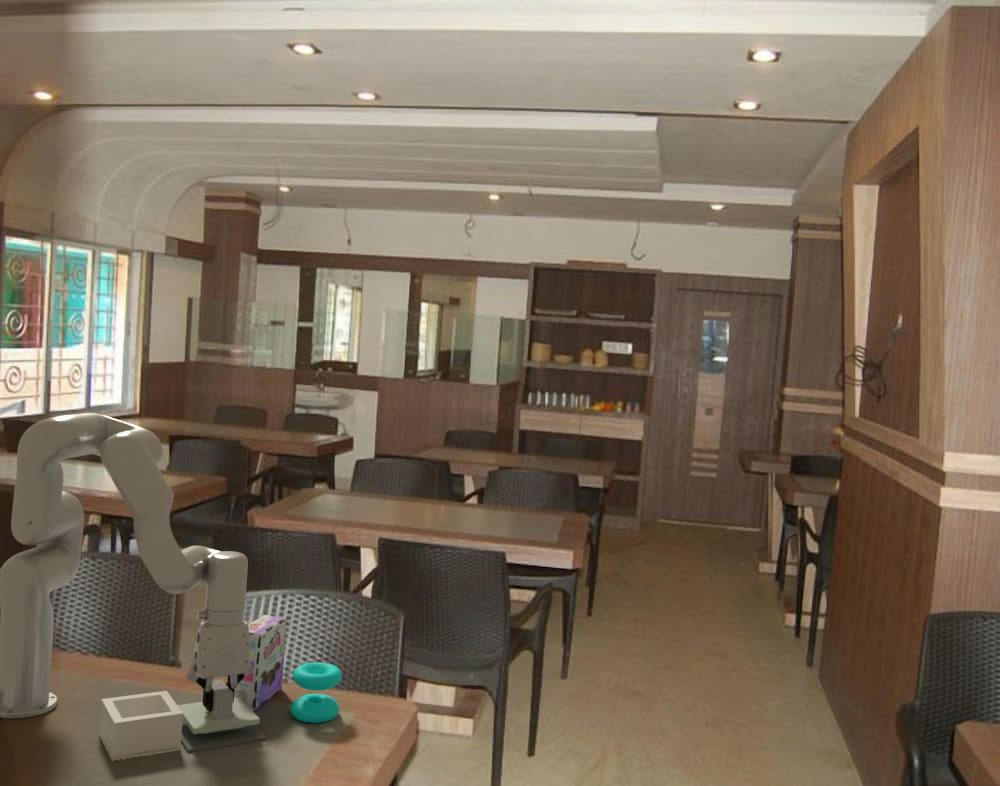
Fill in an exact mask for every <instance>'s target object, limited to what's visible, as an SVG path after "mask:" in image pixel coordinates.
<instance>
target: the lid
mask: <svg viewBox="0 0 1000 786" xmlns="http://www.w3.org/2000/svg"><path fill="white" fill-rule="evenodd" d="M212 691H213V692H214V696H213V710H212V712H208V710H207V709H206V708H205V707H204V706H203V701H200V702H198V701H197V702H192V703H191V702H190V703H183V704H177V706H178V707H179V709H180V710H181V711H182V713H183V720H184V722H185V723H186V724H187V726H188V727H189V728H190V730H191V731H192V732H193V734H198V733H201V734H206V733H213V732H219V731H226V730H232V729H238V728H244V726H250V725H260V722H261V721H260V720H261V719H260V717H259V716H258V715H257V714H256V713H255V711H252V710H251V709H250V708H249V707H248V706H247V705H246V703H245V702H244V701H243V700H242V699H241V698H240V697H234V702H233V692H232V691H231V690H230V689H229V688H228V686H227V685H226V683H225V682H224V681H223V680H222V679H213V683H212Z"/></svg>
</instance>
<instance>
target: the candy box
mask: <svg viewBox="0 0 1000 786" xmlns="http://www.w3.org/2000/svg"><path fill="white" fill-rule="evenodd" d="M287 620H288V618H287V617H283V616H275V615H268V614H263V615H262V616H260V617H259V618H256V619H255V620H253V621H251V622H250V623H248V626H249V636H250V662H251V664H252V666H253V668H254V671H253V672H252V673H250V674H249V675H247V676H245V677H244V678H243V679H242V680H241V681H240V682H239V683H238V684H237V687H236V688H235V692H234V697H240V698H241V699H242V700H243V701H244V702H245V703H246V705H247V706H248V707H249V708H250V709H251V710H252V711H253V712H255V711H256V710H258V709H259V708H260V707H261V706H263V705H264V704H265V703H267V702H268V701H269V700H270V699H271V698H273V697H274V696H275V695H277V693H279V692H280V691H281V690H282V689H283V675H284V662H285V650H286V649H285V647H286V635H287V622H288V621H287Z"/></svg>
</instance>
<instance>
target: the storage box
mask: <svg viewBox="0 0 1000 786" xmlns="http://www.w3.org/2000/svg"><path fill="white" fill-rule="evenodd" d="M100 702H101V703H100V714H99V715H100V716H99V718H100V719H99V731H98V733H99V734H98V736H99V738H100V740H101V742H102V743H103V746H104V748H105V750H106V752H107V754H108V757H109V758H110V760H111V762H115V761H114V760H117V761H120V760H119V759H123V760H127V759H126V758H129V759H133V758H132V757H135V758H140V757H139V756H141V757H147V756H153V755H159V754H166V753H172V752H177V751H181V746H182V743H181V734H182V719H183V713H182V711H181V710H180V709H179V707H178V706H177V705H178V704H177V703H176V701H175V700H174V699H173V698H172V696H171V694H170V693H169V692H168V691H167V690H163V691H155V692H153V691H152V692H147V693H146V692H145V693H138V694H131V695H123V696H116V697H107V698H101V701H100ZM130 757H131V758H130Z"/></svg>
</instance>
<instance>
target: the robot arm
mask: <svg viewBox="0 0 1000 786" xmlns="http://www.w3.org/2000/svg"><path fill="white" fill-rule="evenodd" d="M163 451H164V449H163V444H162V442H161V440H160V439H159V437H158V435H156V434H155V433H154V432H153V431H151V430H149V429H147V428H144V427H142V426H139V425H135V424H132V423H129V422H126V421H123V420H120V419H117V418H113V417H111V416H108V415H105V414H100V413H95V412H83V413H75V414H63V415H56V416H51V417H48V418H45V419H42V420H40V421H38V422H35V423H34V424H32V425H30V426H29V427H28V428H27V429H26V430H25V431H24V433H23V434H22V435H21V438H20V439H19V442H18V447H17V453H16V475H15V483H14V492H13V501H12V513H11V519H10V520H11V521H10V522H11V523H10V526H11V527H10V529H11V533H12V535H13V537H14V539H15V540H16V541H17V542H18V543H20V544H22V545H25V546H35V545H36V546H35V547H32V548H30V549H29V548H28V549H26V550H23V551H21V552H18V553H16V554H14V555H12V556H11V557H9V558H8V559H7V560H6V561H5V562H4V563H3V564H2V566H1V567H0V718H1V719H25V718H26V719H27V718H32V717H36V716H41V715H44V714H46V713H49V712H51V711H52V710H54V708H56V707H57V704H58V697H57V695H56V694H54V693H53V692H50V690H51V689H50V687H51V685H50V684H51V671H52V654H53V653H52V652H53V638H54V620H55V619H54V618H55V617H54V616H55V615H54V610H53V605H52V603H51V599H50V593H51V592H53V591H55V590H58V589H60V588H62V587H64V586H65V585H68V584H69V583H70V582H71V581H73V579H74V578H75V577H76V575H77V573H78V570H79V568H80V563H81V556H82V547H83V538H84V537H83V536H84V528H85V527H84V526H85V512H84V509H83V505H82V503H81V501H80V500H79V499H78V498H77V497H76V495H74V494H73V493H70V492H69V491H64V490H63V484H64V470H63V467H62V463H61V461H62V460H65V459H66V460H67V459H71V458H77V457H83V456H88V455H95V456H98V457H100V460H101V462H102V465H103V466H104V469H105V470H106V472H107V474H108V476H109V477H110V479H111V480H112V482H113V484H114V486H115V488H116V489H117V491H118V492H119V495H120V496H121V497H122V499H123V501H124V502H125V504H126V506H127V508H128V510H129V511H130V513H131V515H132V518H133V531H134V536H135V540H136V541H135V542H136V547H137V551H138V553H139V556H140V558H141V560H142V561H143V564H144V565H145V567H146V569H147V570H148V572H149V574H150V575H151V577H152V578H153V580H154V581H155V583H156V584H157V585H158V586H159V588H160V589H162V590H163V591H165V592H167V593H169V594H173V595H180V594H184V593H186V592H188V591H190V590H192V589H193V588H195V587H197V586H200V585H203V584H206V587H205V600H204V601H205V602H204V604H205V605H204V606H203V609H202V610H201V611H198V612H196V618H197V620H203V621H201V622H200V625H199V627H198V630H197V635H196V640H195V643H194V645H195V646H194V651H193V657H192V661H193V662H192V663H191V666H190V667H189V669H188V670H187V672H186V674H185V678H186V679H187V680H188V681H191V682H192V683H196V684H197V685H199V686H200V687H201V688H202V689H203V690H202V702H203V706H204V707H205V708H206V709H207V710H208V712H212V710H213V696H214V692H213V691H212V683H213V680H214V678H220V677H226V683H225V684H226V685H227V686H228V688H229V689H230V690H231V691H232V692H233V702H234V692H235V688H236V687H237V684H238V683H239V682H240V681H241V680H242V679H243V678H244V677H245V676H247V675H249V674H250V673H252V672H253V671H254V668H253V666H252V664H251V662H250V636H249V626H248V624H249V622H248V621H247V620H245V608H246V599H247V597H246V595H247V583H248V582H247V581H248V571H249V570H248V568H249V561H248V557H247V556H246V554H244V553H242V552H239V551H231V550H227V551H226V550H222V551H221V550H217V549H215V548H211V547H208V546H203V545H190V546H188V547H185V548H183V549H181V548H180V546H179V545H178V543H177V541H176V539H175V537H174V534H173V532H172V528H171V521H170V515H171V511H172V506H173V503H174V498H175V496H174V495H175V494H174V492H173V490H172V488H171V487H170V485H169V483H168V482H167V479H166V478H165V477H164V474H163V473H162V471H161V470H160V468H159V467H158V463H159V462H160V461H161V459H162V456H163Z"/></svg>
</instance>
